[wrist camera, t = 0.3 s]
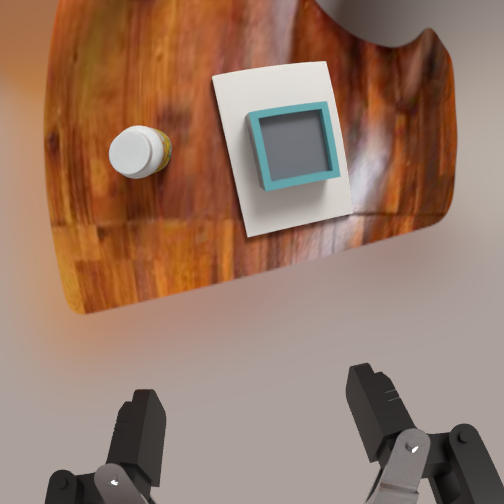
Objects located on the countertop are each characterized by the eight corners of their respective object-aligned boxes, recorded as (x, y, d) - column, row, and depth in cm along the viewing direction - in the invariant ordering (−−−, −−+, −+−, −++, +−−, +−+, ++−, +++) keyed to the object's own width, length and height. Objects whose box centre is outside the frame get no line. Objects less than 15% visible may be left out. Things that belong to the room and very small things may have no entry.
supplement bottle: (149, 120, 32) (128, 111, 23) (181, 148, 34) (170, 148, 25) (121, 154, 33) (91, 157, 24) (152, 182, 34) (131, 193, 25)
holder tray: (212, 78, 31) (211, 67, 26) (323, 63, 32) (337, 52, 27) (246, 235, 38) (251, 247, 33) (349, 211, 39) (367, 220, 34)
